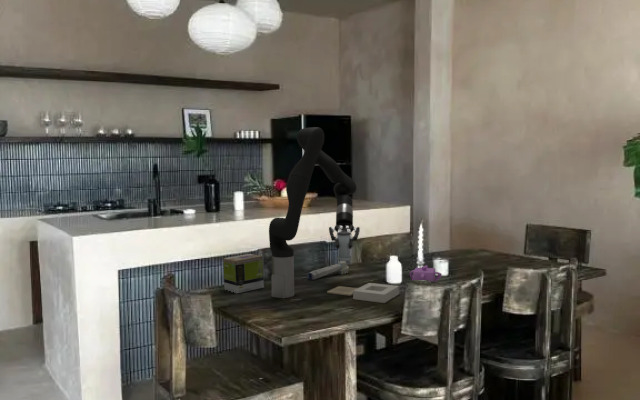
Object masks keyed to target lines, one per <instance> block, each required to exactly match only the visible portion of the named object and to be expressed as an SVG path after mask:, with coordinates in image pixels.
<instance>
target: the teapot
mask: <svg viewBox="0 0 640 400" xmlns="http://www.w3.org/2000/svg"><path fill="white" fill-rule="evenodd" d="M436 275H437V276H436ZM442 275H443V274H442V273H441V272H439V271H436V268H433V267H428V264H426V265H424V266H423V265H422V266H421V267H415V269H413V270H411V271H410V272H409V277H410V278H411V281H413V280H428V281H435V282H437V281H439V280H440V279H441V277H442Z"/></svg>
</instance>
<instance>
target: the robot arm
mask: <svg viewBox="0 0 640 400" xmlns="http://www.w3.org/2000/svg"><path fill="white" fill-rule="evenodd" d="M296 140H297V141H296V142H297V143H298V145H299V146H300V147H301V148H302V150H303V151H304V153H303V155H302V156H301V158H300V159H299V160H298V161H297V163H296V164H295V165H294V167H293V168H292V169H291V171H290V173H289V175H288V179H287V181H286V186H285V191H286V196H287V201H288V202H287V203H288V208H287V212H286V215H285V217H274V218H273V219H271V221H270V223H269V225H268V226H269V227H268V240H269V249H270V252H271V272H272V273H271V278H270V279H271V281H270V282H271V297H272V298H277V299H285V298H286V299H288V298H293V297H294V296H295V269H294V268H295V265H294V263H295V260H294V259H295V258H294V257H295V256H294V255H295V253H294V251H295V250H294V249H293V248H292V247H291V246H290V245H289V244H288V242H289V241H292V240H293V239H295V237H296V235H297V233H298V229H299V226H300V220H301V214H302V210H303V207H304V202H305V198H306V196H307V192H308V189H309V186H310V182H311V180H312V179H311V178H312V176H313V172H314V169H315V166H316V164H317V165H318V166H319V167H320V169H321V170H322V171H323V172H324V174H325V175H326V177H327V178H328V179H329V180H330V182H331V184H332V183H333V184H334V186H333V193H334V195H335V198H336V199H335V200H336V213H335V225H334V227H332V226H329V227H328V231H329V232H328V233H329V236H330V239H331V241H332V242H333V241H334V242H335V245H334V246H335V248H336V249H337V250H339V240H338V232H341V231H347V232H350V240H349V249H350V250H351V249H352V248H353V246H354V245H353V243H354V242H356V241H358V238H359V235H360V229H361V228H360V227H359V226H357V227H355V226H354V210H353V199H352V197H351V196H350V195H352V194H355V193H356V191H357V184H356V181H354V179H352V178H351V177H350V176H349V175H347V174H346V173H345V172H344V171H343V170H342V168H341V167H340V165H339V164H338V163H337V162H336V161H335V160H334V159H333V158H332V157H331V156H329V155H328V154H326V153H325V152H324V151H323V150H322V149H323V146H324V143H325V133H324V130H323V129H322V128H321V127H320V126H319V127H318V126H317V127H316V126H313V127H311V126H310V127H304V128H301V129H299V131H298V132H297V134H296ZM353 231H354V236H353V235H352V232H353ZM334 232H336V235H334ZM287 241H288V242H287Z"/></svg>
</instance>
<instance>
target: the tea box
mask: <svg viewBox="0 0 640 400" xmlns="http://www.w3.org/2000/svg"><path fill="white" fill-rule="evenodd" d="M222 261H223V262H222V263H223V265H222V266H223V283H224V285H223V286H224V291H226V290H228V291H227V292H229V291H231V292H230V293H233V292H234V293H233V294H241V293H246V292H249V291H254V290H258V289H264V288H265V281H264V279H265V278H264V257H263V255H258V254H252V253H247V254H240V255H233V256H228V257H224V258H223V260H222Z"/></svg>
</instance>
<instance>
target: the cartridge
mask: <svg viewBox="0 0 640 400" xmlns="http://www.w3.org/2000/svg"><path fill="white" fill-rule="evenodd" d="M338 240H339V249H338V256H337V257H336V259H337V261H338V262H340V261H346V262H349V261H351V260H352V256H351V254H350V250H351V249H349V240H350V232H347V231H341V232H338Z"/></svg>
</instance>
